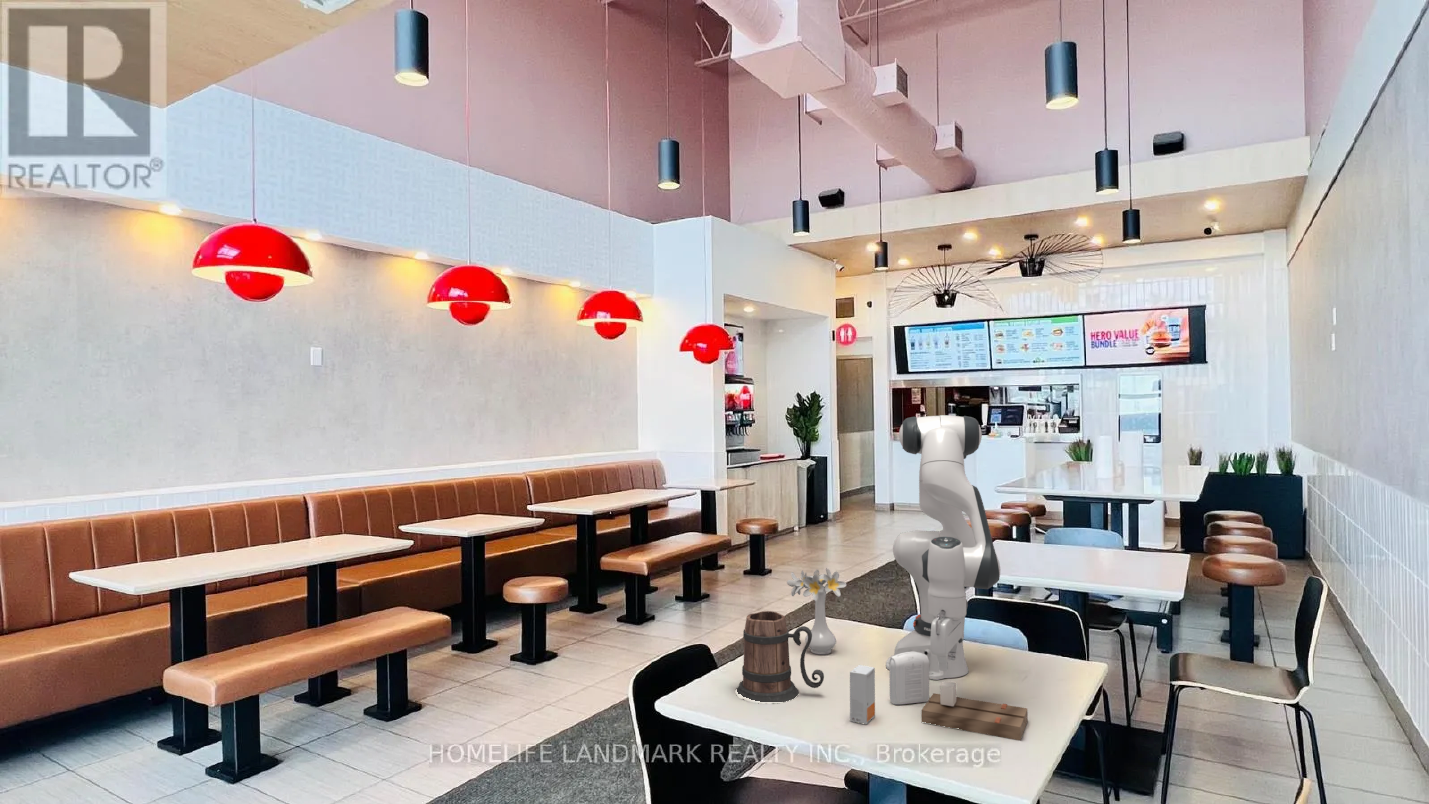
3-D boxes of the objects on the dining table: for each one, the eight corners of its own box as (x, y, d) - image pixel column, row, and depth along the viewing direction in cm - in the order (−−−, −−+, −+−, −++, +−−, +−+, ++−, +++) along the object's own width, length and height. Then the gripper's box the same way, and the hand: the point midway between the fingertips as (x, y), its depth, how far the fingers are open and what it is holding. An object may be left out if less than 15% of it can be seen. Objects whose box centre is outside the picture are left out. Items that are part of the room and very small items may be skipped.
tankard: (727, 700, 203) (726, 622, 203) (743, 678, 220) (742, 606, 220) (819, 709, 197) (817, 628, 197) (828, 685, 213) (827, 610, 213)
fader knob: (940, 711, 190) (940, 685, 190) (943, 706, 193) (943, 680, 193) (953, 713, 188) (953, 687, 188) (956, 708, 191) (956, 682, 191)
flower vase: (797, 642, 251) (795, 563, 251) (853, 649, 243) (852, 567, 243) (782, 654, 240) (780, 571, 240) (841, 662, 232) (839, 576, 231)
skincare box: (866, 725, 187) (865, 674, 187) (849, 722, 189) (848, 671, 189) (876, 716, 192) (875, 667, 192) (859, 713, 194) (858, 664, 194)
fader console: (921, 722, 188) (921, 709, 188) (933, 705, 198) (933, 692, 198) (1020, 740, 177) (1020, 726, 177) (1027, 721, 188) (1027, 707, 188)
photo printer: (923, 696, 204) (923, 648, 204) (932, 702, 200) (931, 653, 200) (887, 700, 202) (886, 651, 202) (894, 706, 198) (894, 657, 198)
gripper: (951, 617, 180) (952, 679, 179) (968, 599, 197) (969, 655, 197) (923, 614, 183) (924, 675, 182) (943, 596, 200) (944, 651, 200)
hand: (947, 664), depth 190 cm, fingers open, 8 cm apart
